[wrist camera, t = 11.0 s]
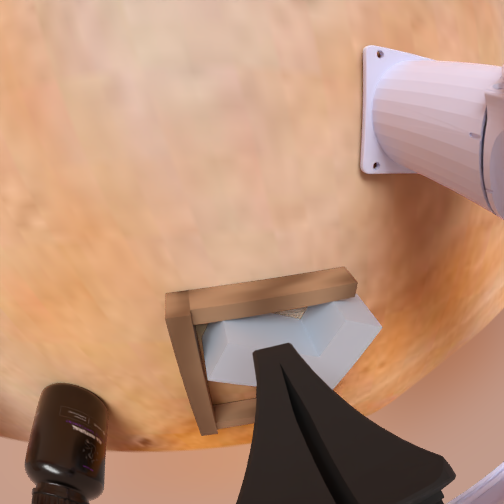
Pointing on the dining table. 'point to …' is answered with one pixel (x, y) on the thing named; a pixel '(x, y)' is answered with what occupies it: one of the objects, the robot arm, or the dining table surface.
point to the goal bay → (233, 307)
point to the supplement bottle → (67, 446)
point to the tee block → (292, 340)
